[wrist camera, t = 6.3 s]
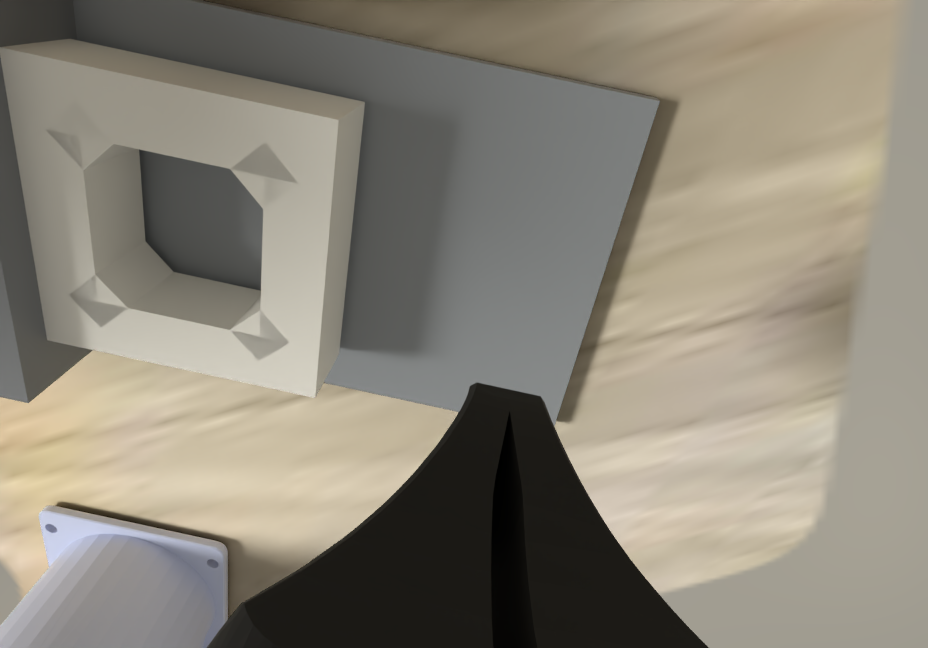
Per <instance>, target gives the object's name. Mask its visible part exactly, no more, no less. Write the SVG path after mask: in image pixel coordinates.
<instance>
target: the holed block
mask: <svg viewBox="0 0 928 648" xmlns="http://www.w3.org/2000/svg"><path fill="white" fill-rule="evenodd" d="M0 58H1V64H2V70H3V76H4V82H5V88H6V94H7V100H8V106H9V112H10V118H11V124H12V130H13V136H14V142H15V148H16V154H17V160H18V167H19V173H20V179H21V185H22V191H23V197H24V203H25V209H26V215H27V221H28V227H29V233H30V239H31V245H32V251H33V257H34V263H35V269H36V275H37V281H38V288H39V294H40V300H41V306H42V312H43V318H44V324H45V330H46V336H47V340H49V341H53V342H58V343H63V344H67V345H72V346H76V347H81V348H86V349H90V350H95V351H100V352H104V353H109V354H114V355H118V356H123V357H127V358H132V359H137V360H141V361H146V362H151V363H155V364H160V365H164V366H169V367H174V368H178V369H183V370H188V371H192V372H197V373H201V374H206V375H211V376H215V377H220V378H225V379H229V380H234V381H239V382H243V383H248V384H252V385H257V386H262V387H266V388H271V389H276V390H280V391H285V392H289V393H294V394H299V395H303V396H308V397H313V398H315V397H316V395H317V394H318V392H319V390H320V388H321V386H322V384H323V382H324V381H325V379H326V377H327V375H328V373H329V371H330V370H331V368H332V366H333V364H334V362H335V360H336V358H337V357H338V355H339V349H340V339H341V330H342V320H343V310H344V301H345V291H346V281H347V272H348V262H349V252H350V243H351V233H352V223H353V214H354V204H355V194H356V185H357V175H358V165H359V156H360V146H361V136H362V127H363V117H364V107H365V102H363V101H358V100H354V99H349V98H344V97H340V96H335V95H330V94H326V93H321V92H316V91H312V90H307V89H302V88H298V87H293V86H288V85H284V84H279V83H274V82H270V81H265V80H260V79H256V78H251V77H246V76H242V75H237V74H232V73H228V72H223V71H218V70H214V69H209V68H204V67H200V66H195V65H190V64H186V63H181V62H176V61H172V60H167V59H162V58H158V57H153V56H148V55H144V54H139V53H134V52H130V51H125V50H120V49H116V48H111V47H106V46H102V45H97V44H92V43H88V42H83V41H78V40H74V39H62V40H54V41H46V42H38V43H29V44H21V45H13V46H4V47H0ZM139 149H140V150H144V151H149V152H154V153H158V154H163V155H168V156H172V157H177V158H181V159H186V160H191V161H195V162H200V163H205V164H209V165H214V166H219V167H223V168H228V169H231V171H232V172H233V173H234V174H235V176H236V177H237V178H238V179H239V180H240V182H241V183H242V184H243V185H244V186H245V188H246V189H247V190H248V191H249V193H250V194H251V195H252V196H253V197H254V199H255V200H256V201H257V202H258V203H259V205H260V206H261V207H262V208H263V235H262V269H261V291H260V290H255V289H251V288H246V287H241V286H237V285H232V284H227V283H223V282H218V281H213V280H209V279H204V278H200V277H195V276H190V275H186V274H181V273H176V272H173V271H172V270H171V269H170V267H169V266H168V265H167V264H166V263H165V262H164V261H163V260H162V259H161V258H160V257H159V256H158V254H157V253H156V252H155V251H154V250H153V249H152V248H151V247H150V246H149V245H148V244H147V242H146V241H145V228H144V213H143V199H142V184H141V170H140V155H139Z"/></svg>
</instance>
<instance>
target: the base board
mask: <svg viewBox="0 0 928 648" xmlns="http://www.w3.org/2000/svg"><path fill="white" fill-rule="evenodd" d="M62 39H74V40H78V41H83V42H88V43H92V44H97V45H102V46H106V47H111V48H116V49H120V50H125V51H130V52H134V53H139V54H144V55H148V56H153V57H158V58H162V59H167V60H172V61H176V62H181V63H186V64H190V65H195V66H200V67H204V68H209V69H214V70H218V71H223V72H228V73H232V74H237V75H242V76H246V77H251V78H256V79H260V80H265V81H270V82H274V83H279V84H284V85H288V86H293V87H298V88H302V89H307V90H312V91H316V92H321V93H326V94H330V95H335V96H340V97H344V98H349V99H354V100H358V101H363V102H365V107H364V117H363V127H362V136H361V146H360V156H359V165H358V175H357V185H356V194H355V204H354V214H353V223H352V233H351V243H350V252H349V262H348V272H347V281H346V291H345V301H344V310H343V320H342V330H341V339H340V349H339V355H338V357H337V358H336V360H335V362H334V364H333V366H332V368H331V370H330V371H329V373H328V375H327V377H326V379H325V381H324V382H323V383H327V384H332V385H337V386H341V387H346V388H350V389H355V390H360V391H364V392H369V393H374V394H378V395H383V396H388V397H392V398H397V399H401V400H406V401H411V402H415V403H420V404H425V405H429V406H434V407H438V408H443V409H448V410H452V411H457V412H459V411H460V410H461V408H462V406H463V404H464V402H465V399H466V397H467V395H468V391H469V387H470V386H471V385H473V384H475V383H477V382H478V383H482V384H487V385H491V386H496V387H501V388H505V389H510V390H514V391H519V392H524V393H528V394H533V395H537V396H541V398H542V399H543V401H544V402H545V405H546V407H547V410H548V413H549V415H550V418H551V420H552V423H553V425H554V426H555V423H556V419H557V416H558V413H559V410H560V407H561V404H562V401H563V398H564V395H565V392H566V389H567V386H568V383H569V379H570V376H571V373H572V370H573V367H574V364H575V361H576V358H577V355H578V352H579V349H580V346H581V343H582V339H583V336H584V333H585V330H586V327H587V324H588V321H589V318H590V315H591V312H592V309H593V306H594V303H595V299H596V296H597V293H598V290H599V287H600V284H601V281H602V278H603V275H604V272H605V269H606V266H607V263H608V259H609V256H610V253H611V250H612V247H613V244H614V241H615V238H616V235H617V232H618V229H619V226H620V223H621V219H622V216H623V213H624V210H625V207H626V204H627V201H628V198H629V195H630V192H631V189H632V186H633V183H634V179H635V176H636V173H637V170H638V167H639V164H640V161H641V158H642V155H643V152H644V149H645V146H646V143H647V139H648V136H649V133H650V130H651V127H652V124H653V121H654V118H655V115H656V112H657V109H658V106H659V103H660V101H659V100H658V99H657V98H656V97H652V96H647V95H642V94H638V93H633V92H628V91H624V90H619V89H614V88H610V87H605V86H600V85H596V84H591V83H586V82H582V81H577V80H572V79H568V78H563V77H558V76H554V75H549V74H544V73H540V72H535V71H530V70H526V69H521V68H516V67H511V66H507V65H502V64H497V63H493V62H488V61H483V60H479V59H474V58H469V57H465V56H460V55H455V54H451V53H446V52H441V51H437V50H432V49H427V48H423V47H418V46H413V45H409V44H404V43H399V42H395V41H390V40H385V39H381V38H376V37H371V36H367V35H362V34H357V33H353V32H348V31H343V30H339V29H334V28H329V27H325V26H320V25H315V24H311V23H306V22H301V21H296V20H292V19H287V18H282V17H278V16H273V15H268V14H264V13H259V12H254V11H250V10H245V9H240V8H236V7H231V6H226V5H222V4H217V3H212V2H208V1H203V0H0V47H4V46H13V45H21V44H29V43H38V42H46V41H54V40H62ZM139 155H140V170H141V184H142V199H143V213H144V228H145V241H146V242H147V244H148V245H149V246H150V247H151V248H152V249H153V250H154V251H155V252H156V253H157V254H158V256H159V257H160V258H161V259H162V260H163V261H164V262H165V263H166V264H167V265H168V266H169V267H170V269H171V270H172V271H173V272H176V273H181V274H186V275H190V276H195V277H200V278H204V279H209V280H213V281H218V282H223V283H227V284H232V285H237V286H241V287H246V288H251V289H255V290H260V291H261V269H262V235H263V208H262V207H261V206H260V205H259V203H258V202H257V201H256V200H255V199H254V197H253V196H252V195H251V194H250V193H249V191H248V190H247V189H246V188H245V186H244V185H243V184H242V183H241V182H240V180H239V179H238V178H237V177H236V176H235V174H234V173H233V172H232V171H231V169H228V168H223V167H219V166H214V165H209V164H205V163H200V162H195V161H191V160H186V159H181V158H177V157H172V156H168V155H163V154H158V153H154V152H149V151H144V150H140V149H139ZM91 351H92V350H90V349H86V348H81V347H76V346H72V345H67V344H63V343H58V342H53V341H49V340H47V336H46V330H45V324H44V318H43V312H42V306H41V300H40V294H39V288H38V281H37V275H36V269H35V263H34V257H33V251H32V245H31V239H30V233H29V227H28V221H27V215H26V209H25V203H24V197H23V191H22V185H21V179H20V173H19V167H18V160H17V154H16V148H15V142H14V136H13V130H12V124H11V118H10V112H9V106H8V100H7V94H6V88H5V82H4V76H3V70H2V64H1V58H0V397H3V398H7V399H12V400H17V401H21V402H26V403H29V402H30V401H31V400H33V399H34V398H35V397H36V396H37V395H39V394H40V393H41V392H42V391H44V390H45V389H46V388H47V387H48V386H50V385H51V384H52V383H53V382H54V381H56V380H57V379H58V378H59V377H61V376H62V375H63V374H64V373H65V372H67V371H68V370H69V369H70V368H72V367H73V366H74V365H75V364H76V363H78V362H79V361H80V360H81V359H82V358H84V357H85V356H86V355H87V354H89V353H90V352H91Z"/></svg>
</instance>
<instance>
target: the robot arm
mask: <svg viewBox="0 0 928 648" xmlns="http://www.w3.org/2000/svg"><path fill="white" fill-rule="evenodd" d="M39 520H40V525H41V530H42V535H43V540H44V544H45V549H46V554H47V559H48V564H49V568H48V569H47V570H46V572H45V573H44V574H43V575H42V576H41V578H40V579H39V580H38V581H37V582H36V584H35V585H34V586H33V587H32V588H31V590H30V591H29V592H28V593H27V594H26V596H25V597H24V598H23V599H22V600H21V601H20V603H19V604H18V605H17V606H16V607H15V609H14V610H13V611H12V612H11V613H10V615H9V616H8V617H7V618H6V619H5V621H4V622H3V623H2V624H1V625H0V648H708V647H707V646H706V645H705V644H704V643H703V642H702V641H701V640H700V639H699V638H698V637H697V636H696V634H695V633H694V632H693V631H692V630H690V628H689V627H688V626H687V625H686V624H685V623H684V622H683V621H682V620H681V619H680V618H679V617H678V615H677V614H676V613H675V612H674V611H673V610H672V609H671V608H670V607H669V606H668V604H667V603H666V602H665V601H664V600H663V599H662V597H661V596H660V595H659V594H658V593H657V591H656V590H655V589H654V588H653V587H652V586H651V584H650V583H649V582H648V581H647V580H646V579H645V577H644V576H643V575H642V574H641V572H640V571H639V570H638V569H637V567H636V566H635V565H634V563H633V562H632V561H631V560H630V558H629V557H628V556H627V554H626V553H625V551H624V550H623V549H622V547H621V546H620V544H619V543H618V542H617V540H616V539H615V537H614V536H613V534H612V533H611V531H610V530H609V528H608V527H607V525H606V524H605V522H604V521H603V519H602V517H601V516H600V514H599V513H598V511H597V509H596V507H595V506H594V504H593V502H592V501H591V499H590V497H589V496H588V494H587V492H586V490H585V489H584V487H583V485H582V483H581V481H580V479H579V477H578V476H577V474H576V472H575V470H574V468H573V466H572V464H571V462H570V460H569V458H568V456H567V454H566V452H565V450H564V448H563V445H562V443H561V441H560V439H559V437H558V434H557V432H556V430H555V427H554V425H553V423H552V420H551V418H550V415H549V413H548V410H547V407H546V405H545V402H544V401H543V399H542V398H541V396H537V395H533V394H528V393H524V392H519V391H514V390H510V389H505V388H501V387H496V386H491V385H487V384H482V383H478V382H477V383H475V384H473V385H471V386H470V387H469V391H468V395H467V397H466V399H465V402H464V404H463V406H462V408H461V410H460V411H459V413H458V415H457V416H456V418H455V420H454V421H453V423H452V424H451V426H450V427H449V429H448V430H447V432H446V433H445V434H444V436H443V437H442V439H441V440H440V442H439V443H438V444H437V446H436V447H435V448H434V450H433V451H432V452H431V453H430V454H429V456H428V457H427V458H426V459H425V460H424V462H423V463H422V464H421V465H420V466H419V468H418V469H417V470H416V471H415V472H414V474H413V475H412V476H411V477H410V478H409V479H408V480H407V481H406V482H405V483H404V484H403V485H402V486H401V487H400V488H399V489H398V490H397V491H396V492H395V493H394V494H393V495H392V496H391V497H390V498H389V499H388V500H387V501H386V502H385V503H384V504H383V505H382V506H381V507H380V508H378V509H377V510H376V511H375V512H374V513H373V514H372V515H370V516H369V517H368V518H367V519H366V520H365V521H364V522H362V523H361V524H360V525H359V526H358V527H357V528H355V529H354V530H353V531H352V532H350V533H349V534H348V535H347V536H345V537H344V538H343V539H341V540H340V541H338V542H337V543H336V544H334V545H333V546H331V547H330V548H329V549H327V550H326V551H324V552H323V553H322V554H320V555H319V556H317V557H316V558H315V559H313V560H312V561H310V562H309V563H308V564H306V565H305V566H303V567H302V568H300V569H299V570H297V571H296V572H294V573H292V574H291V575H289V576H287V577H286V578H284V579H282V580H281V581H279V582H277V583H275V584H274V585H272V586H270V587H269V588H267V589H265V590H264V591H262V592H260V593H259V594H257V595H255V596H253V597H252V598H250V599H248V600H246V601H245V602H243V603H241V604H240V605H239V607H238V608H237V609H236V610H235V611H234V613H233V614H232V615H231V616H230V618H229V619H228V550H227V548H226V546H225V545H224V544H222V543H221V542H218V541H215V540H210V539H206V538H201V537H197V536H192V535H187V534H183V533H178V532H174V531H169V530H164V529H160V528H155V527H150V526H146V525H141V524H137V523H132V522H127V521H123V520H118V519H114V518H109V517H104V516H100V515H95V514H91V513H86V512H81V511H77V510H72V509H67V508H63V507H58V506H52V505H49V506H46V507H45V508H44V509H43V510H42V511H41V512H40V513H39Z"/></svg>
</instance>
